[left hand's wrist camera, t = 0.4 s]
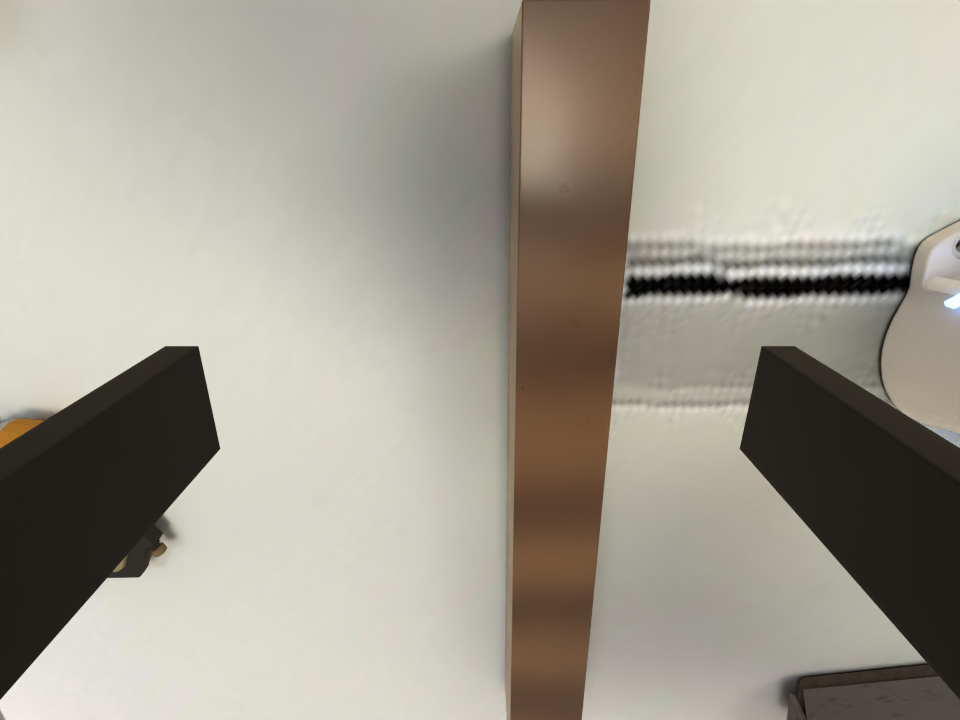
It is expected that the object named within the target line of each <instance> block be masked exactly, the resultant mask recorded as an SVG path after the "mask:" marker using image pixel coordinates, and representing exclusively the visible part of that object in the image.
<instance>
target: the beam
mask: <svg viewBox="0 0 960 720" xmlns="http://www.w3.org/2000/svg"><path fill="white" fill-rule="evenodd" d="M649 11H650V0H523V1H522V3H521V7H520V10H519V14H518V17H517V20H516V24H515V27H514V30H513V34H512V77H511V172H510V268H509V363H508V459H507V555H506V650H505V689H506V710H507V720H582V710H583V699H584V689H585V679H586V668H587V658H588V647H589V637H590V626H591V616H592V605H593V595H594V585H595V574H596V564H597V553H598V543H599V532H600V522H601V512H602V501H603V491H604V480H605V470H606V459H607V449H608V438H609V428H610V418H611V407H612V397H613V386H614V376H615V365H616V355H617V345H618V334H619V324H620V313H621V303H622V292H623V282H624V271H625V261H626V251H627V240H628V230H629V219H630V209H631V198H632V188H633V178H634V167H635V157H636V146H637V136H638V125H639V115H640V104H641V94H642V84H643V73H644V63H645V52H646V42H647V31H648V21H649Z"/></svg>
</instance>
